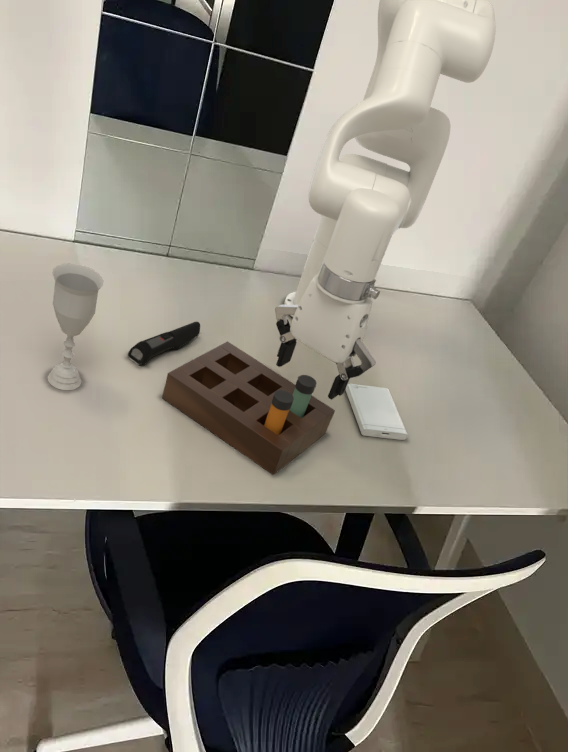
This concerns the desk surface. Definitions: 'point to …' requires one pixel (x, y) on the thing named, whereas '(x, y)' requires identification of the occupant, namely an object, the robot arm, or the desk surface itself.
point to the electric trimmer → (163, 343)
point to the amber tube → (278, 411)
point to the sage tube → (302, 394)
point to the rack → (244, 405)
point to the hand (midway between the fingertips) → (308, 379)
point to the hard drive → (376, 412)
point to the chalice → (72, 315)
